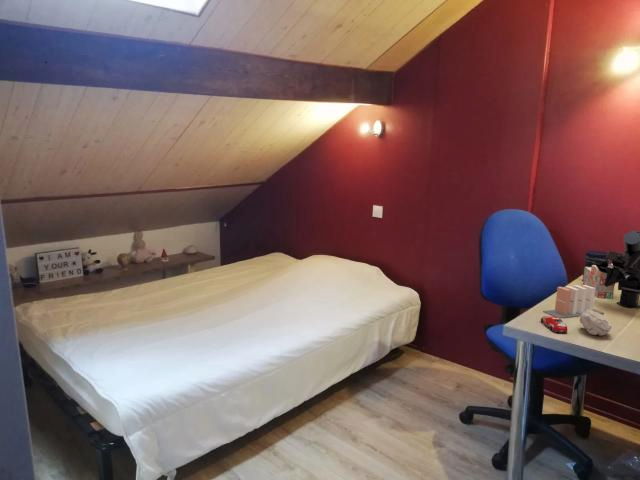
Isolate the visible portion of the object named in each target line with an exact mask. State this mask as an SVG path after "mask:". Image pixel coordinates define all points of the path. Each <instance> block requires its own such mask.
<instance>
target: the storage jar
mask: <svg viewBox="0 0 640 480" xmlns="http://www.w3.org/2000/svg"><path fill="white" fill-rule="evenodd" d="M607 255H608V252H605V251H599V250H586V251H585V256H584V267H592V265H595V264H594V263H595V261H596V260H597V259H601V260H605V261H607V262H608V263H609V259H607V258H606V257H607ZM583 278H584V270H583V271H582V280H581V281H582V282H583Z"/></svg>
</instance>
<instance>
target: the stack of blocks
mask: <svg viewBox="0 0 640 480" xmlns="http://www.w3.org/2000/svg"><path fill="white" fill-rule="evenodd" d="M583 271H584V278H583V277H582V280H583V281H582V285H587V286H590V287H593V288H595V295H594V297H596V298H598V299H608V300H613V299H614V293H615V292H614V291H615V286H616V283H615V284H613V285H610V286H608V287H606V286H605V285H604V284H605V280H606V277H607V273H603V272H600V271H599V270H598V268H597V267H596V265H592V267H585V266H584V269H583Z"/></svg>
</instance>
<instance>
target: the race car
mask: <svg viewBox="0 0 640 480" xmlns="http://www.w3.org/2000/svg"><path fill="white" fill-rule="evenodd" d="M540 323H541V324H543V326H545V327H547V329H548V330H549V331H551V332H554V333H563V334H564V333H565V334H567V333H568V326H567V324H566V323H565V321H564V320H562V318H557V317H554V316H551V315H545V316H542V317H541V318H540Z"/></svg>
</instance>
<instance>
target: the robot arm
mask: <svg viewBox="0 0 640 480" xmlns="http://www.w3.org/2000/svg"><path fill="white" fill-rule="evenodd" d="M622 239H623V245H624V251H623V252H621V253H620V252H616V251H612V250H608V252H607V253H608V255H607V257H606V258H607V259H608V262H607V261H605V260H601V259H597V260H596V261H595V263H594V264H595V265H596V267H597V268H598V270H599V271H600V272H603V273H607V277H606V280H605V284H604V285H605V286H606V287H608V286H610V285H613V284H615V285H616V284H617V291H620V292H621V293H620V296H619V301H616V303H615V304H618V305H620V306H623V307H626V308H629V309H632V308H633V309H634V308H640V304H639V301H640V300H639V298H640V231H638V230H633V229H631V231H629V232H628V233H626V234H625V235H623V238H622ZM609 261H610V263H609Z"/></svg>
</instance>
